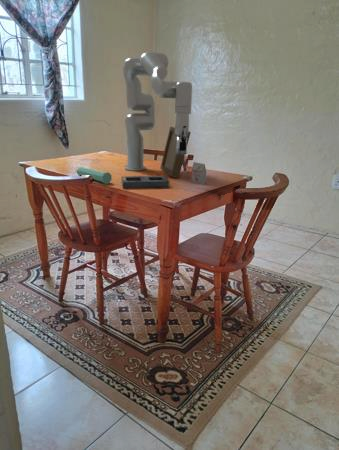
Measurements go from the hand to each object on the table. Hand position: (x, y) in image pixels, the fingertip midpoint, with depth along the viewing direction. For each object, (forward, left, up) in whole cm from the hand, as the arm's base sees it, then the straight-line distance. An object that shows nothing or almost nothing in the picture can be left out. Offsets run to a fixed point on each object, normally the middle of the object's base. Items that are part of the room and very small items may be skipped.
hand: (181, 149), depth 171 cm
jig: (0, -18, -17) cm, 25 cm away
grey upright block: (-3, +10, -18) cm, 20 cm away
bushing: (0, 0, -2) cm, 2 cm away
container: (-16, -41, -15) cm, 46 cm away
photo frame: (-26, +4, -18) cm, 32 cm away
